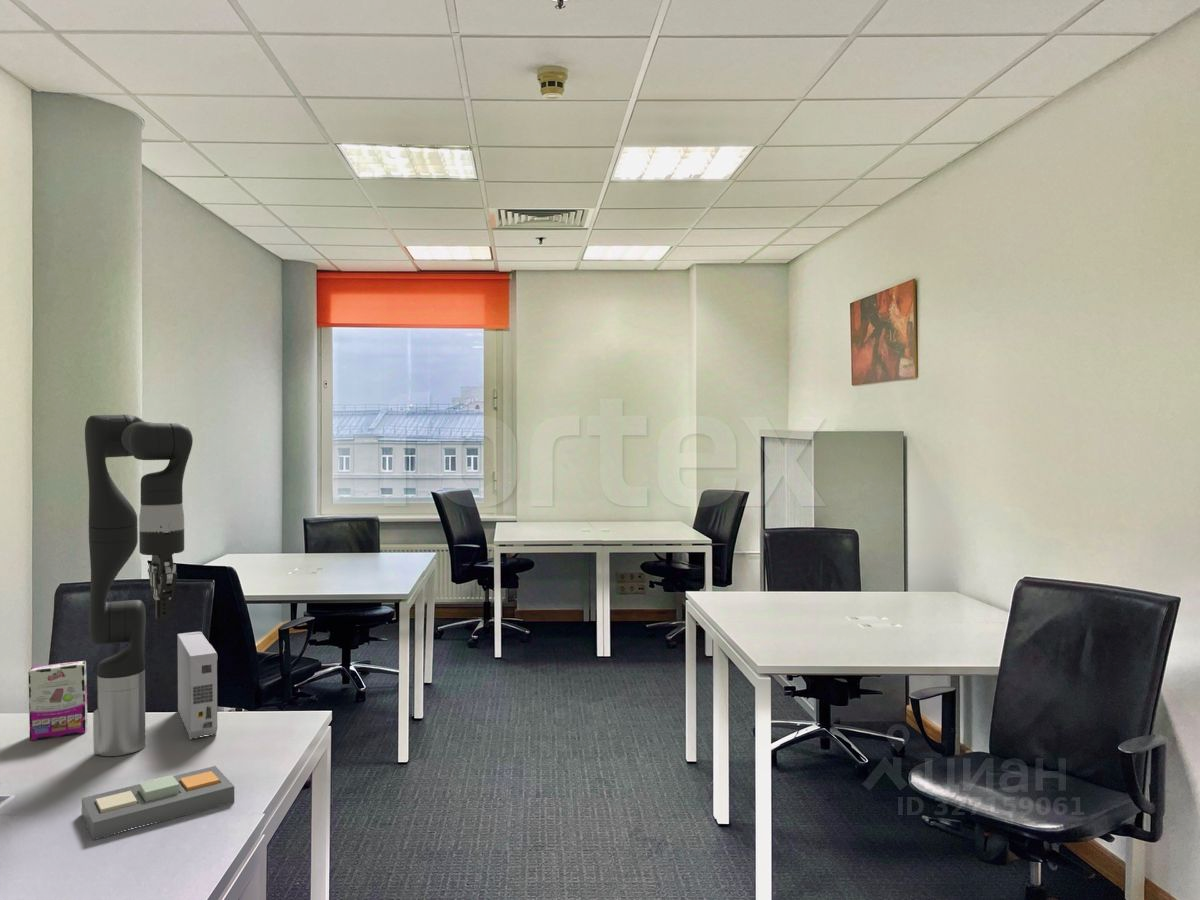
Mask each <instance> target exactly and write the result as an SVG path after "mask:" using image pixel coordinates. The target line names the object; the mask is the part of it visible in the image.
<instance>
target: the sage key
mask: <svg viewBox="0 0 1200 900" xmlns="http://www.w3.org/2000/svg"><path fill="white" fill-rule="evenodd" d="M173 776H174V775H173V774H171V775H166V776H162V777H159V778H153V779H150V780H145V781H140V782H139V794H140V795H141V797H142V798H143V800H144V802H147V801H151V800H155V799H159V798H163V797H167V796H170V795H174V794H178V793H179V783H178V782H177V780H176V779H175V778H174V777H173Z"/></svg>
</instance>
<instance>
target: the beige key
mask: <svg viewBox="0 0 1200 900" xmlns="http://www.w3.org/2000/svg"><path fill="white" fill-rule="evenodd" d="M135 804H137V800H136V798H135V797H134V795H133V793H132V792H131V791H127V792H123V793H119V794H115V795H111V796H106V797H102V798H98V799H96V808H97V810H98V812H99V814H100V813H104V812H108V811H112V810H115V809H119V808H123V807H127V806H131V805H135Z"/></svg>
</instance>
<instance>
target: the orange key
mask: <svg viewBox="0 0 1200 900" xmlns="http://www.w3.org/2000/svg"><path fill="white" fill-rule="evenodd" d="M218 783H219V779H218V778H217V777H216V775H215V774H214V773H213V772H212V771H209V772H205V773H201V774H197V775H192V776H188V777H184V778H180V784H181V785H182V787H183V788H184V789H185V791H190V790H194V789H198V788H202V787H206V786H210V785H214V784H218Z"/></svg>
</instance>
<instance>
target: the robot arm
mask: <svg viewBox="0 0 1200 900" xmlns="http://www.w3.org/2000/svg"><path fill="white" fill-rule="evenodd" d="M192 434H193V433H192V431H191V430H190V428H189V427H188V426H187V425H185V424H183V423H179V422H173V423H172V422H169V423H168V422H165V423H164V422H151V421H145V420H144V419H142V418H141V417H139V416H136V415H133V414H132V415H131V414H94V415H90V416H89V417H88V418H87V419H86V421H85V427H84V442H85V443H84V445H85V453H86V454H85V457H86V467H87V476H88V477H87V478H88V543H89V544H88V546H89V547H88V549H89V561H90V565H89V566H90V590H89V591H90V594H89V613H88V615H89V616H88V632H89V633H88V635H89V638H90V640H91V643H92V644H94V645H97V646H98V645H100V646H101V645H102V646H103V645H110V644H120V643H123V644H124V643H128V645H127V646H126V647H125V648H124V649H122V651H119V652H117V653H116V654H113V655H112V656H109V657H106V658H104V659H103V660H100V661H99V662H98V664H97V666H96V667H97V668H96V669H97V671H96V674H97V675H96V677H97V678H96V680H97V681H96V683H97V684H96V685H97V688H96V689H97V709H95V710H94V711H93V713H92V715H93V716H92V720H93V722H92V723H93V728H92V729H93V731H92V732H93V733H92V734H93V737H92V738H93V755H99V756H101V757H102V756H103V757H119V756H125V755H129V754H132V753H135V752H139V751H140V750H142V749H144V748H145V747H146V736H147V735H146V667H145V666H146V663H145V662H146V661H145V657H146V656H145V637H146V624H147V622H146V619H147V618H146V617H147V614H146V606H145V604H144V602H143V601H142V600H140V599H130V600H117V601H109V602H108V601H107V597H108V594H109V591H110V588H111V587H112V585H113V583H114V581H115V579H116V578H117V576H118V574H119V573H120V572H121V570H122V569H123V568H124V566H125V565H126V563H127V562H128V561H129V559H130V557H132V555H133V553H134V551H135V550H136V547H137V545H139V546H138V547H139V549H138V550H139V554H141V555H144V556H151V562H150V563H148V569H147V573H148V578H149V584H150V590H151V591H150V593H151V595H152V596H153V597H152V598H153V599H154V607H155V609H154V613H155V617H154V618H155V619H156V620H157V621H167V620H169V619H170V618H171V600H172V598H174V595H175V589H176V585H177V579H178V574H177V563H176V562H174V557H173V556H174V554H180V553H182V552H184V551H185V514H184V506H183V497H184V496H183V481H184V476H185V471H186V468H187V464H188V460H189V458H190V455H191V452H192V447H193V442H194V440H193V435H192ZM124 457H125V458H127V457H134V458H135V459H137V460H139V461H140V460H141V461H167V460H168V463H167V466H166V467H165V468H164V469H162V470H160V471H159V470H158V471H156V472H155V471H154V472H151V473H146V474H144V475H142V477H141V479H140V511H139V515H137V514H138V513H136V510H135V508H134V507H133V505H132V504H131V503H130V501H129V500H128V499H127V498H126V497H125V494H123V493H122V491H120V490H119V487H117V485H116V483H115V482H114V480H113V479H112V477H111V475H110V472H109V471H108V467H107V462H106V461H107V460H106V458H124ZM138 516H139V517H138ZM138 521H139V522H138ZM138 523H139V524H138ZM138 526H139V529H138ZM138 531H139V532H138ZM138 534H139V537H138ZM138 538H139V539H138ZM138 541H139V544H138Z"/></svg>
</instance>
